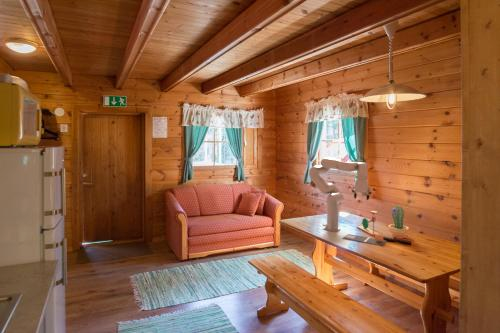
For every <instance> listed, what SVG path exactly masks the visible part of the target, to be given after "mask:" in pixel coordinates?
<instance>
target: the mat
mask: <svg viewBox="0 0 500 333" xmlns="http://www.w3.org/2000/svg"><path fill="white" fill-rule="evenodd" d="M342 239H343V240H348V241H354V242H359V243H364V244H369V245H370V244H371V245H376V246H382V247H383V246H384V245H385V244H386V242H387V240H386V239H383V241H382V242H377V241H376V240H375V237H374V238H372V237H369V236H368V237H367V236H361V235H354V234H349V233H348V234H346V235H345V236H343V237H342Z"/></svg>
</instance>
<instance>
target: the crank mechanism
mask: <svg viewBox="0 0 500 333" xmlns="http://www.w3.org/2000/svg"><path fill="white" fill-rule="evenodd" d="M378 213H379V212H378V211H377V210H376V211H375V210H370V214H373V215H372V216H371V220H369V221H368V219H367V218H366V217H363V218H362V222H361V224H362V225H359V226H356V227H357V229H358V230H360V231H362V232H364V233H366V234H368V235H369V236H372V237H375V236H376V235H377V234H379V233H378V232H376V231H375V223H376V221H377V220H376V218H377V217H376V215H378ZM371 222H372V229H370V228H369V223H371Z"/></svg>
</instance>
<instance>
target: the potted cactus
mask: <svg viewBox="0 0 500 333" xmlns="http://www.w3.org/2000/svg"><path fill="white" fill-rule="evenodd" d="M390 212H391V217H392V220H393V224H388V226H387V227H388V229H389V231H390V233H391V237H393V238H395V237H396V239H403V238H405V235H406V234H407V233H408V231H409V229H410V228H409V226H407V225H404V218H405V210H404V208H403V207H402V206H401V205H395V206H394V207H393V208H392V209H391V210H390Z"/></svg>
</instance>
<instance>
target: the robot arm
mask: <svg viewBox="0 0 500 333" xmlns="http://www.w3.org/2000/svg"><path fill="white" fill-rule="evenodd" d="M368 166H369V165H368V163H367V162H359V161H351V162H348V161H341V160H340V159H338V158H337V159H336V158H333V157H325V158H322V159H321V161H320V165H319V164H318V165H314V166H312V167H311V168H310V169H309V171H308V176H309V178H310V181H312V183H314V185H315V186H316V187H317V188H318V190H319V191H320V193H322V195H324V196H326V195H327V197H326V207H327V208H326V211H327V213H326V223H322V226H323V227H324V230H326V231H327V232H328V231H329V232H340V231H341V228H340V227H339V213H340V212H339V204H341V203H342V202H343V201H344V199H345V197H344V194H343V193H342V192H341V191H340V189H339V188H338V187H337V185H335V184H334V183H331V182H326V180H325V179H324V178H323V176H320V175H325V174H326V173H327V172H328V171H330V170H337V171H341V172H349V173H350V172H352V173H353V172H356V173H357V175H356V176H355V178H356V179H355V184H354V186H352V187H350V190H351V192H352V194H353V198H354V199H357V198H358V197H357V195H358V193H365V194H366V200H367V201H368V200H369V199H370V195H371V194H372V193H373V191H374V190H373V188H371V187H370V186H369V180H368Z"/></svg>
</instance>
